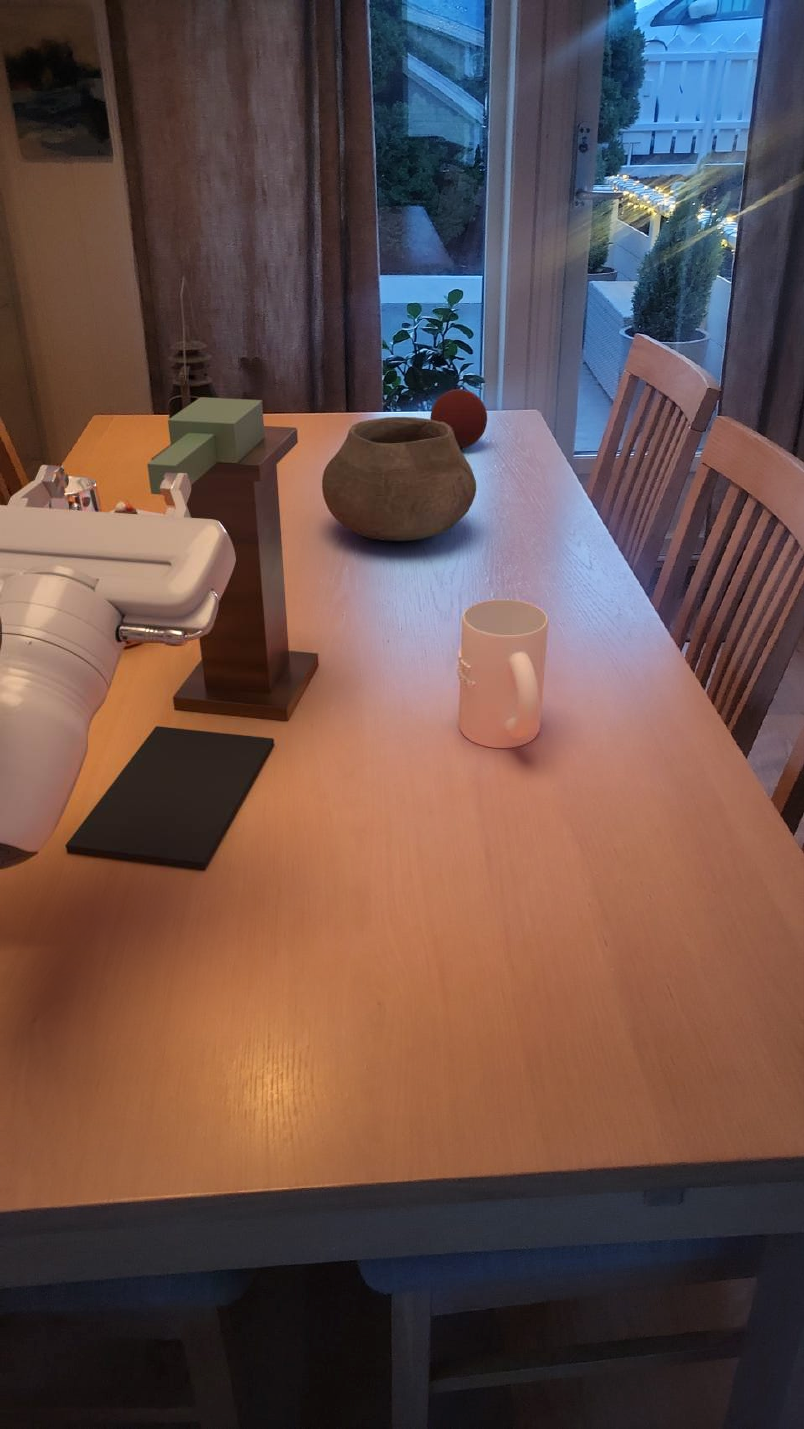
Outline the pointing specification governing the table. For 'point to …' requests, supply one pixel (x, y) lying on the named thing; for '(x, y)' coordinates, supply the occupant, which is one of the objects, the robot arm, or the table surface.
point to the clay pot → (399, 479)
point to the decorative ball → (461, 415)
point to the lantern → (189, 369)
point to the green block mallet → (208, 437)
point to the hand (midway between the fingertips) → (117, 474)
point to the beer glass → (78, 496)
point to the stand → (248, 594)
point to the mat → (173, 798)
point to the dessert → (132, 510)
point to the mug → (502, 672)
